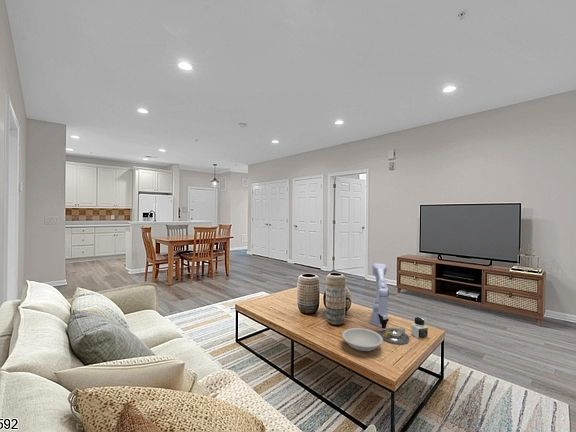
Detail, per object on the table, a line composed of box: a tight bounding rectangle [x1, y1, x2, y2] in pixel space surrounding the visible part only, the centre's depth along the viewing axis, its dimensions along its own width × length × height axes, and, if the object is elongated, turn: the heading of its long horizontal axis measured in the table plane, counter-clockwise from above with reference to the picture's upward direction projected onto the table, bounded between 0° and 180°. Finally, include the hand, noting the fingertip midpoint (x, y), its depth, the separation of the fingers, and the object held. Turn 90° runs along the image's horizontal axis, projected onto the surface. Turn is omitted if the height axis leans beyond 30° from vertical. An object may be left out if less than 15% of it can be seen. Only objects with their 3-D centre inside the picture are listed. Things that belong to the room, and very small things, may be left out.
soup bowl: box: [341, 327, 384, 352], centre depth 168 cm, size 24×24×7 cm
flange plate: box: [379, 328, 410, 346], centre depth 180 cm, size 18×18×2 cm
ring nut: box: [383, 327, 406, 339], centre depth 180 cm, size 9×16×3 cm, turn 125°
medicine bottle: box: [410, 316, 429, 340], centre depth 183 cm, size 7×7×12 cm
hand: (382, 326), depth 185 cm, fingers open, 7 cm apart
